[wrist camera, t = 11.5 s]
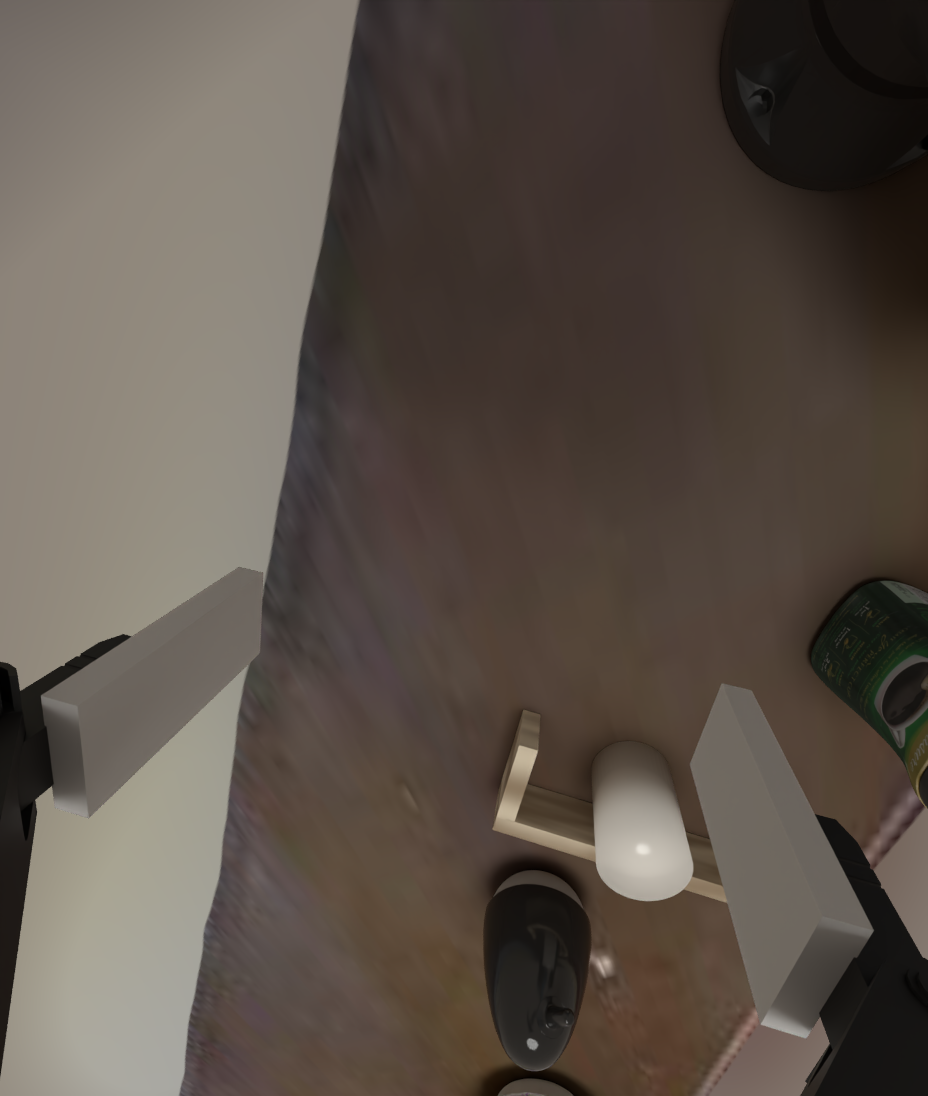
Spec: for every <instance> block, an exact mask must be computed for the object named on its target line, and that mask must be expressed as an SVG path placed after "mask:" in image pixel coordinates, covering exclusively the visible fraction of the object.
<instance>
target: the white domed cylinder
mask: <svg viewBox="0 0 928 1096" xmlns="http://www.w3.org/2000/svg"><path fill="white" fill-rule="evenodd" d="M591 779H592V797H593V816H594V834H595V853H596V866H597V870H598V873H599V875H600V877H601V878H602V880H603V881H604V882H605V883H606V884H607V885H608V886H609V887H610V888H611V889H612V890H614V891H615V892H617V893H619V894H621V895H623V896H625V897H628V898H631V899H635V900H641V901H656V900H662V899H666V898H669V897H672V896H674V895H676V894H677V893H679V892H681V891H682V890H683V889H684V888H685V887H686V886H687V885H688V883H689V882H690V880H691V877H692V874H693V861H692V857H691V853H690V849H689V845H688V841H687V836H686V832H685V828H684V824H683V820H682V816H681V812H680V808H679V804H678V800H677V796H676V792H675V788H674V784H673V779H672V775H671V771H670V768H669V764H668V762H667V760H666V759H665V758H664V756H663V755H662V754H661V753H660V752H659V751H657V750H656V749H655V748H653V747H651V746H649V745H647V744H644V743H640V742H635V741H622V742H617V743H614V744H611V745H609V746H607V747H605V748H604V749H602V750H601V751H600V752H599V753H598V754H597V755H596V757H595V758H594V760H593V763H592V767H591Z"/></svg>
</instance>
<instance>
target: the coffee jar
mask: <svg viewBox="0 0 928 1096" xmlns="http://www.w3.org/2000/svg"><path fill="white" fill-rule="evenodd" d="M811 663H812V667H813V669H814V671H815V673H816V674H817V676H818V677H819V678H820V679H821V680H822V681H823V682H824V683H825V684H826V685H827V687H829V688H830V689H831V690H832V691H833V692H834V693H835V694H836V695H837V696H838V697H839V698H840V699H842V700H843V701H844V702H845V703H846V704H847V705H848V706H849V707H850V708H852V709H853V710H854V711H855V712H856V713H857V714H858V715H860V716H861V717H862V718H863V719H864V720H865V721H866V722H867V723H868V724H869V725H870V726H871V727H872V728H873V729H874V730H875V731H876V732H877V733H878V734H879V735H880V736H881V737H882V738H883V739H884V740H885V741H886V742H887V743H888V744H889V745H890V746H891V747H892V749H893V750H894V751H895V752H896V753H897V755H898V756H899V757H900V759H901V760H902V762H903V763H904V765H905V767H906V770H907V772H908V775H909V778H910V781H911V784H912V787H913V789H914V791H915V793H916V795H917V796H918V798H919V799H920V801H921V802H922V803H923V805H924V806H925V807H926V808H927V809H928V594H927V593H926V592H924V591H922V590H920V589H917V588H915V587H912V586H909V585H906V584H903V583H899V582H895V581H876V582H872V583H869V584H866V585H864V586H862V587H860V588H859V589H858V590H856V591H855V592H854V593H853V594H852V595H851V596H850V597H849V598H848V599H847V600H846V601H845V602H844V603H843V604H842V606H841V607H840V608H839V609H838V610H837V611H836V612H835V614H834V615H833V616H832V618H831V619H830V621H829V622H828V623H827V625H826V626H825V628H824V629H823V631H822V632H821V634H820V636H819V638H818V639H817V641H816V643H815V645H814V647H813V650H812V654H811Z"/></svg>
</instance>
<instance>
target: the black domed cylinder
mask: <svg viewBox="0 0 928 1096" xmlns="http://www.w3.org/2000/svg"><path fill="white" fill-rule="evenodd" d="M483 952H484V969H485V979H486V987H487V993H488V999H489V1005H490V1010H491V1014H492V1018H493V1022H494V1026H495V1029H496V1032H497V1035H498V1037H499V1040H500V1042H501V1044H502V1047H503V1049H504V1050H505V1052H506V1054H507V1055H508V1057H509V1058H510V1059H511V1060H512V1061H513V1062H514V1063H515V1064H517V1065H518V1066H520V1067H521V1068H523V1069H526V1070H530V1071H541V1070H545V1069H547V1068H549V1067H551V1066H552V1065H553V1064H554V1063H555V1062H556V1061H557V1060H558V1059H559V1058H560V1056H561V1055H562V1053H563V1052H564V1050H565V1048H566V1046H567V1045H568V1043H569V1041H570V1038H571V1036H572V1034H573V1031H574V1028H575V1025H576V1022H577V1019H578V1016H579V1012H580V1009H581V1005H582V1001H583V997H584V993H585V988H586V983H587V978H588V971H589V963H590V954H591V926H590V922H589V919H588V916H587V915H586V913H585V911H584V909H583V906H582V904H581V902H580V900H579V898H578V896H577V895H576V893H575V892H574V890H573V889H572V888H571V887H570V886H569V885H568V884H567V883H566V882H565V881H563V880H562V879H560V878H559V877H557V876H555V875H553V874H551V873H548V872H544V871H539V870H528V871H522V872H519V873H516V874H514V875H512V876H511V877H509V878H508V879H506V880H505V881H504V882H503V883H502V884H501V885H500V887H499V888H498V889H497V891H496V893H495V895H494V896H493V898H492V899H491V900H490V902H489V904H488V906H487V908H486V912H485V917H484V928H483Z"/></svg>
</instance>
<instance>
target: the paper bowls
mask: <svg viewBox="0 0 928 1096" xmlns="http://www.w3.org/2000/svg"><path fill="white" fill-rule="evenodd" d="M498 1096H574V1095H572V1094H571V1093H570V1092H569V1091H568V1090H566V1089H565V1088H563V1087H561V1086H559V1085H557V1084H555V1083H553V1082H550V1081H546V1080H541V1079H520V1080H516V1081H513V1082H511V1083H509V1084H508V1085H506V1086H505V1087H504V1088H503V1089H502V1090H501V1091H500V1092H499V1094H498Z"/></svg>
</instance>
